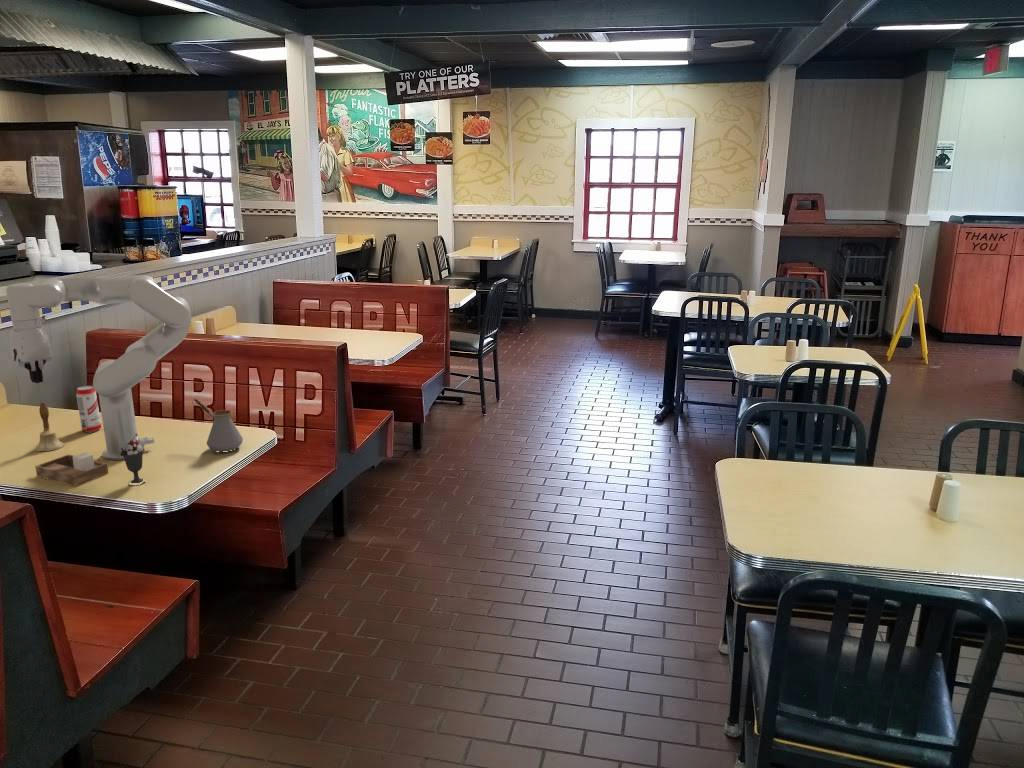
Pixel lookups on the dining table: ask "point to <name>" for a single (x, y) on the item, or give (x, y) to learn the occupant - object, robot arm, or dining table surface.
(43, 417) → the hand bell
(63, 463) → the tray
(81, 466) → the block
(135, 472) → the sundae
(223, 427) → the coffee pot
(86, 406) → the beer can
